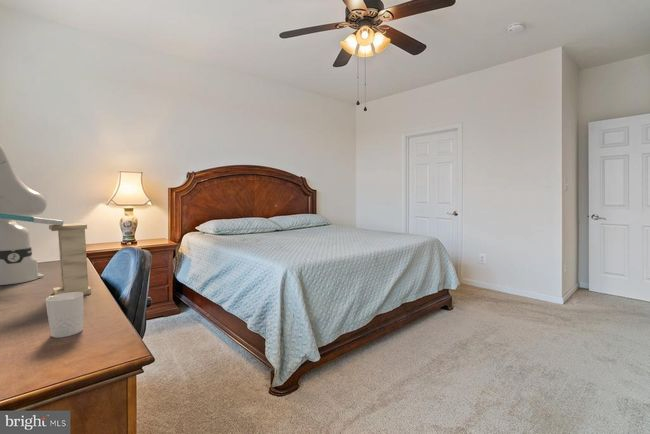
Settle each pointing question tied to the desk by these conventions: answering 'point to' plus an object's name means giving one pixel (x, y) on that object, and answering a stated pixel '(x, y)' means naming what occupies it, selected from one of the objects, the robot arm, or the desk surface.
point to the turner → (31, 219)
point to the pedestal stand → (72, 258)
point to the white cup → (65, 314)
